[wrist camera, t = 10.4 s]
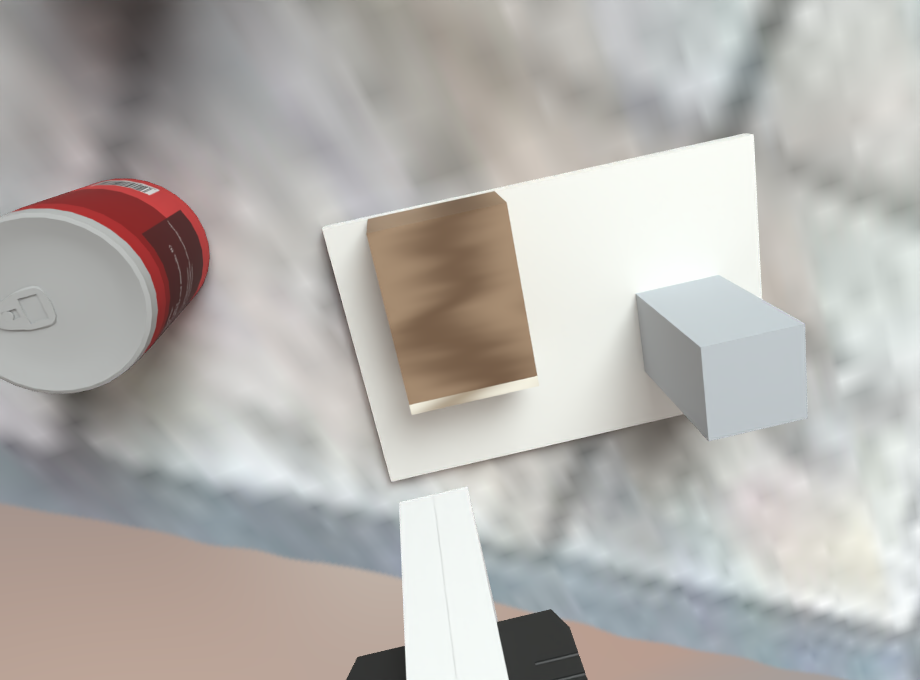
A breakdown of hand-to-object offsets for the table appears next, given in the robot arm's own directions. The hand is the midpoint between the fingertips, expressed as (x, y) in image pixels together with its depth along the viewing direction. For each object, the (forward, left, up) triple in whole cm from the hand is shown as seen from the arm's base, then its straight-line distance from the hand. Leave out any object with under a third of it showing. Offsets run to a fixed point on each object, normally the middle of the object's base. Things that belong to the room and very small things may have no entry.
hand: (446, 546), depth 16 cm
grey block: (+15, -7, -25) cm, 30 cm away
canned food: (-14, +4, -27) cm, 30 cm away
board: (+8, -5, -26) cm, 28 cm away
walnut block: (+2, -7, -23) cm, 24 cm away
